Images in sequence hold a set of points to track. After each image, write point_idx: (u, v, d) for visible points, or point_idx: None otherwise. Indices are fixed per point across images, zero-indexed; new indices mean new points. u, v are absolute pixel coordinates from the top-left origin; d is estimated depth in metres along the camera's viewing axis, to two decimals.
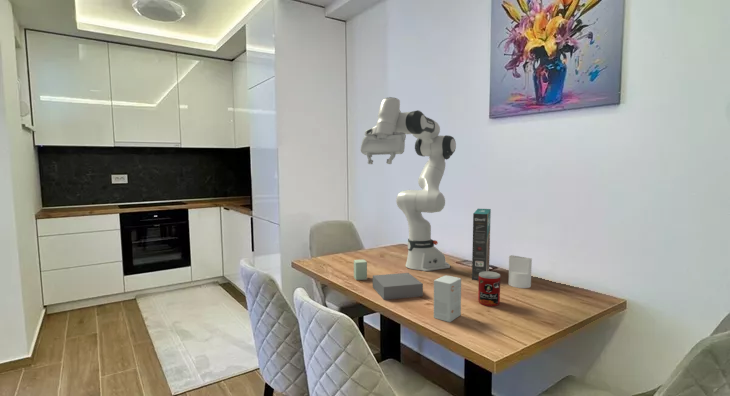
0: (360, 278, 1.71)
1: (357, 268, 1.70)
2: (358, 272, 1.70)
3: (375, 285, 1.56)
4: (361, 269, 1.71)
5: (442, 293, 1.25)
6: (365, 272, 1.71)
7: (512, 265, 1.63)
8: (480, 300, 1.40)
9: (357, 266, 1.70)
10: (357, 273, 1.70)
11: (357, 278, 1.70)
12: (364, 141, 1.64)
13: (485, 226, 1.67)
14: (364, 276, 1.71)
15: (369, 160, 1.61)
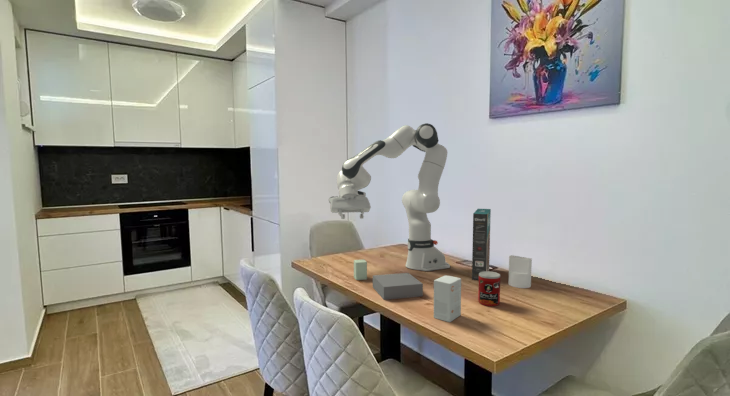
0: (360, 278, 1.71)
1: (357, 268, 1.70)
2: (358, 272, 1.70)
3: (375, 285, 1.56)
4: (361, 269, 1.71)
5: (442, 293, 1.25)
6: (365, 272, 1.71)
7: (512, 265, 1.63)
8: (480, 300, 1.40)
9: (357, 266, 1.70)
10: (357, 273, 1.70)
11: (357, 278, 1.70)
12: None
13: (485, 226, 1.67)
14: (364, 276, 1.71)
15: None
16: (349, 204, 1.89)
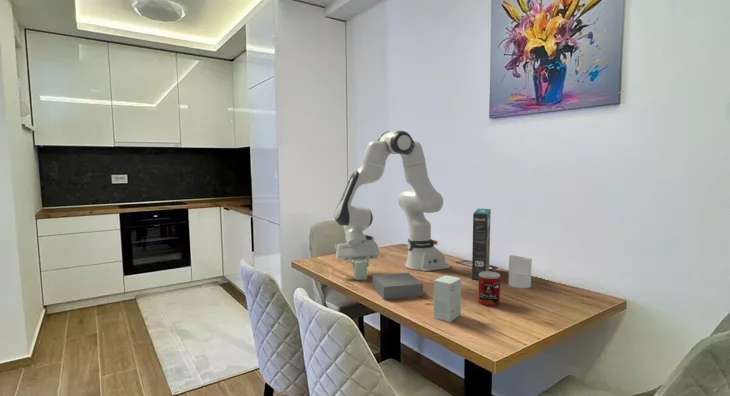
0: (360, 278, 1.71)
1: (357, 268, 1.70)
2: (358, 272, 1.70)
3: (375, 285, 1.56)
4: (361, 269, 1.71)
5: (442, 293, 1.25)
6: (365, 272, 1.71)
7: (512, 265, 1.63)
8: (480, 300, 1.40)
9: (357, 266, 1.70)
10: (357, 273, 1.70)
11: (357, 278, 1.70)
12: None
13: (485, 226, 1.67)
14: (364, 276, 1.71)
15: None
16: (356, 250, 1.76)
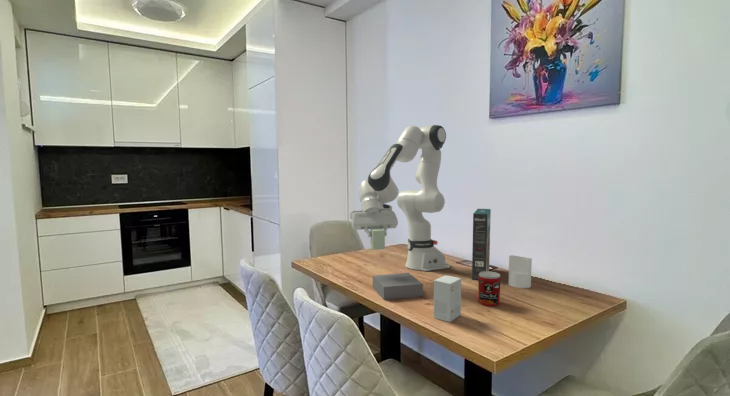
0: (378, 247, 1.60)
1: (374, 237, 1.59)
2: (375, 241, 1.59)
3: (375, 285, 1.56)
4: (378, 238, 1.59)
5: (442, 293, 1.25)
6: (383, 241, 1.60)
7: (512, 265, 1.63)
8: (480, 300, 1.40)
9: (374, 234, 1.59)
10: (374, 242, 1.59)
11: (374, 247, 1.59)
12: None
13: (485, 226, 1.67)
14: (382, 245, 1.60)
15: None
16: (373, 219, 1.65)
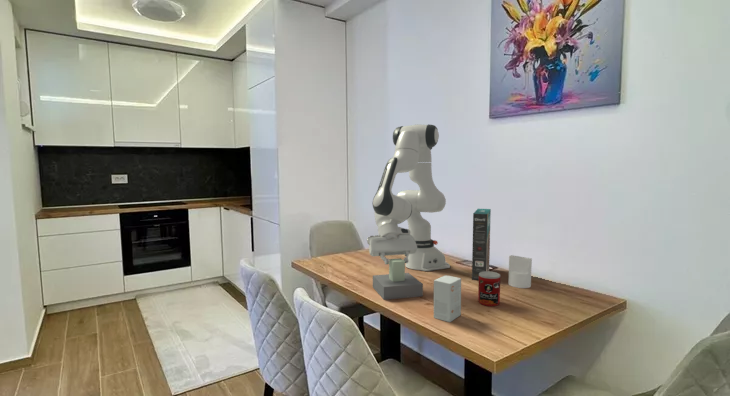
0: (397, 279, 1.52)
1: (394, 268, 1.51)
2: (395, 273, 1.51)
3: (375, 285, 1.56)
4: (398, 269, 1.51)
5: (442, 293, 1.25)
6: (403, 272, 1.52)
7: (512, 265, 1.63)
8: (480, 300, 1.40)
9: (394, 266, 1.51)
10: (394, 274, 1.51)
11: (394, 279, 1.51)
12: None
13: (485, 226, 1.67)
14: (402, 277, 1.52)
15: None
16: (392, 245, 1.57)
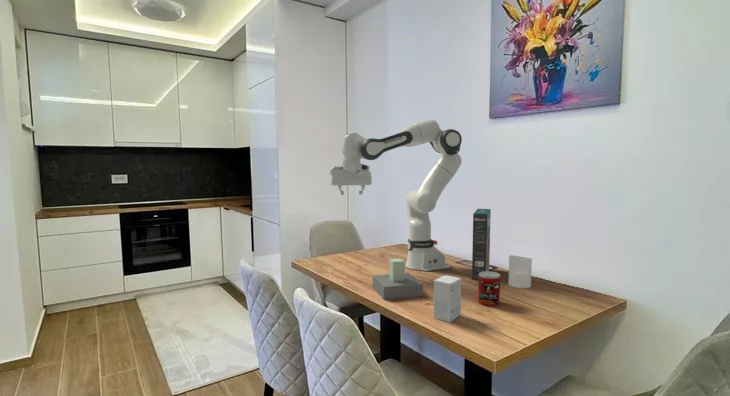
0: (397, 279, 1.52)
1: (394, 268, 1.51)
2: (395, 273, 1.51)
3: (375, 285, 1.56)
4: (398, 269, 1.51)
5: (442, 293, 1.25)
6: (403, 272, 1.52)
7: (512, 265, 1.63)
8: (480, 300, 1.40)
9: (394, 266, 1.51)
10: (394, 274, 1.51)
11: (394, 279, 1.51)
12: None
13: (485, 226, 1.67)
14: (402, 277, 1.52)
15: None
16: (350, 179, 1.85)
